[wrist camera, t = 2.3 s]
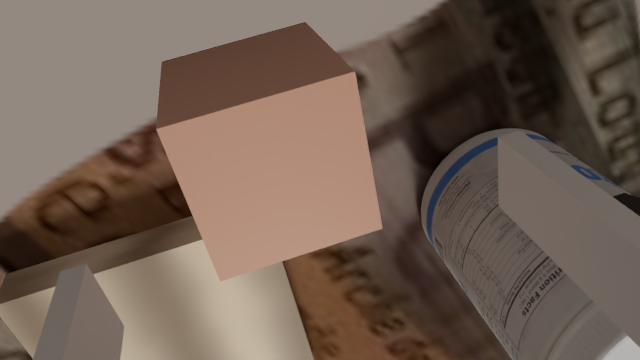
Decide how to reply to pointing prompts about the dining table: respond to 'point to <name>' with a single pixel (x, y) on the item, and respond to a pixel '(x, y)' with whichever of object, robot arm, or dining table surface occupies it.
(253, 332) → the ash slab
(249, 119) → the terracotta block
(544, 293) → the supplement tub
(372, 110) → the dining table surface
